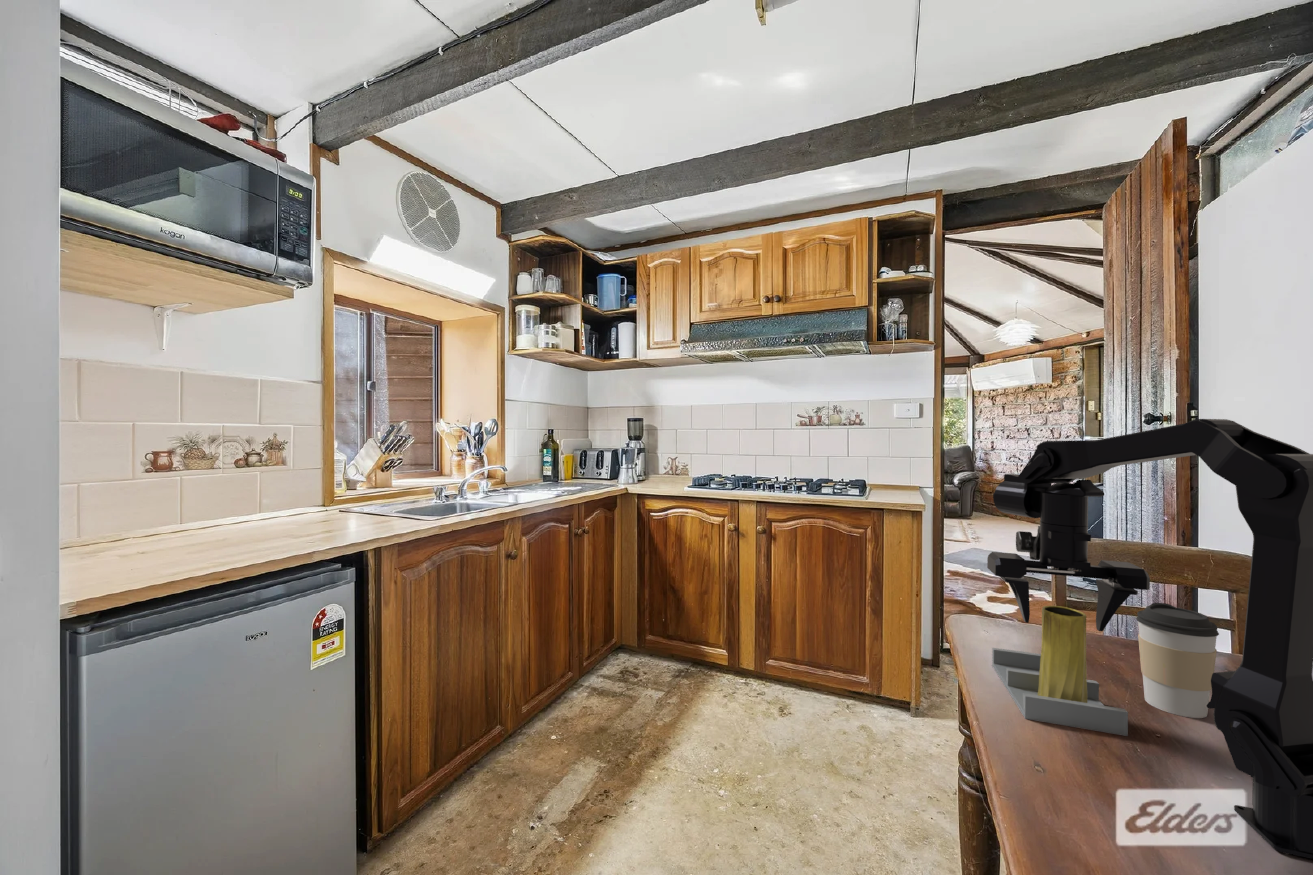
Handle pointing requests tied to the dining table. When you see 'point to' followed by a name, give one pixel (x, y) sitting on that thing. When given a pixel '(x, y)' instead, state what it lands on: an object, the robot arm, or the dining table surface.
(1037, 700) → the tiered shelf
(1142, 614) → the coffee cup
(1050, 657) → the vase
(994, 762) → the dining table surface
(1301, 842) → the robot arm
